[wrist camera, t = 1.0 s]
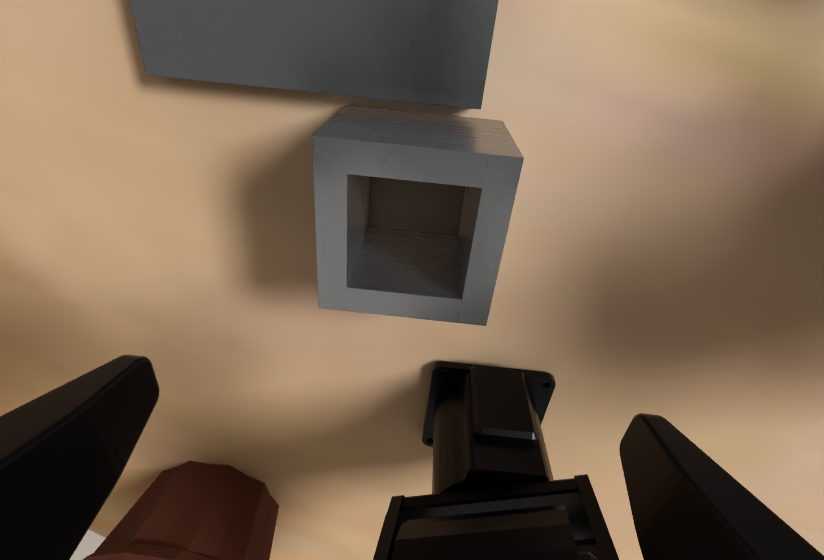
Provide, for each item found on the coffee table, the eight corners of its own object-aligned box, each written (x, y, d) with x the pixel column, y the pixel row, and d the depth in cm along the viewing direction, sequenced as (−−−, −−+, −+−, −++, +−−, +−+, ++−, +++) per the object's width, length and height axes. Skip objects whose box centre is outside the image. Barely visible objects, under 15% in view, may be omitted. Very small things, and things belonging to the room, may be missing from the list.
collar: (476, 258, 19) (486, 325, 15) (345, 244, 19) (318, 308, 15) (502, 121, 16) (523, 157, 12) (346, 105, 16) (311, 135, 12)
